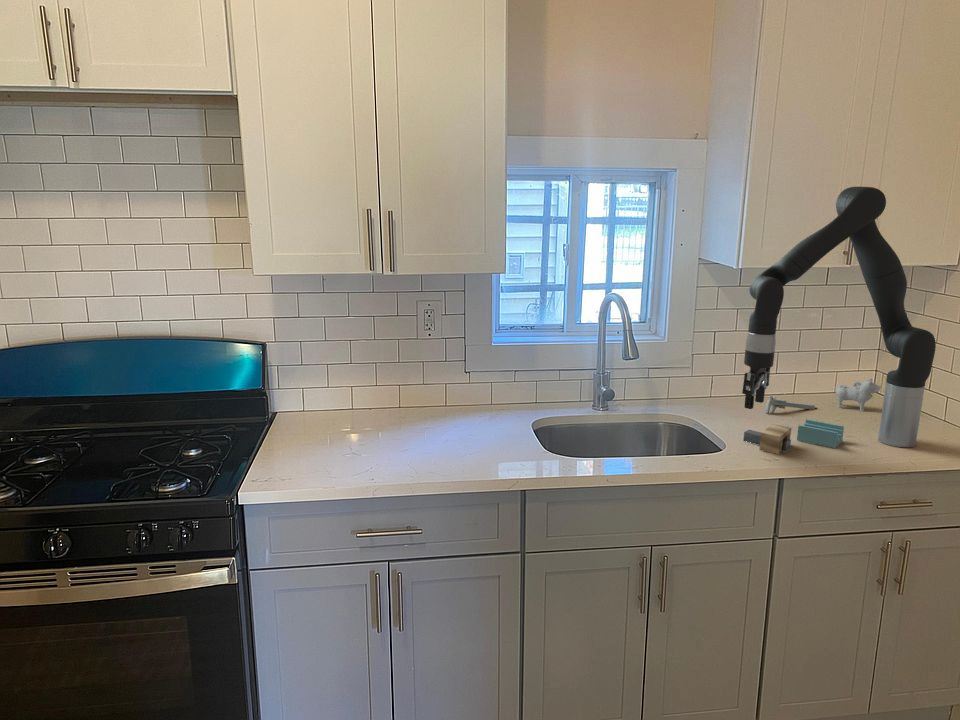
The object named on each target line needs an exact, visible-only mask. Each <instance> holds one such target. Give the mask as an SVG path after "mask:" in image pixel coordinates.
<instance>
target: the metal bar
mask: <svg viewBox="0 0 960 720" xmlns="http://www.w3.org/2000/svg"><path fill="white" fill-rule="evenodd" d="M761 432H762V431H761ZM761 432H760V431H757V430H753V429H747V430H745V431H743V442H746V441H747V443H750V442H751V444H754V443H755V444H754V445H758V444H759V445H758V446H760V438H761ZM791 444H792V439H791V438H790V439H785V438H783V442H782V451H781V452H784V451H785V452H787V451H790V449H791Z"/></svg>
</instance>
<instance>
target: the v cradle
mask: <svg viewBox="0 0 960 720" xmlns="http://www.w3.org/2000/svg"><path fill="white" fill-rule="evenodd" d="M844 430H845V426H844V425H840V424H835V423H829V422H825V421H820V420H819V421H818V420H814V419H809V418H806V419H805V423H804V425H803V424H799V425H798V427H797V436H796V441H797V440H799V441H798V442H802V441H803V443H807V442H808V443H807V444H812V443H813V445H816V444H819V445H818V446H821V445H824V446H823V447H826V446H828V447H827V448H831V447H832V449H836V448H837V447H838V446H839V445H840V444H841V443H842V442H843V438H844ZM841 441H842V442H841ZM840 442H841V443H840ZM839 443H840V444H839ZM838 444H839V445H838ZM837 445H838V446H837ZM836 446H837V447H836Z"/></svg>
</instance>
